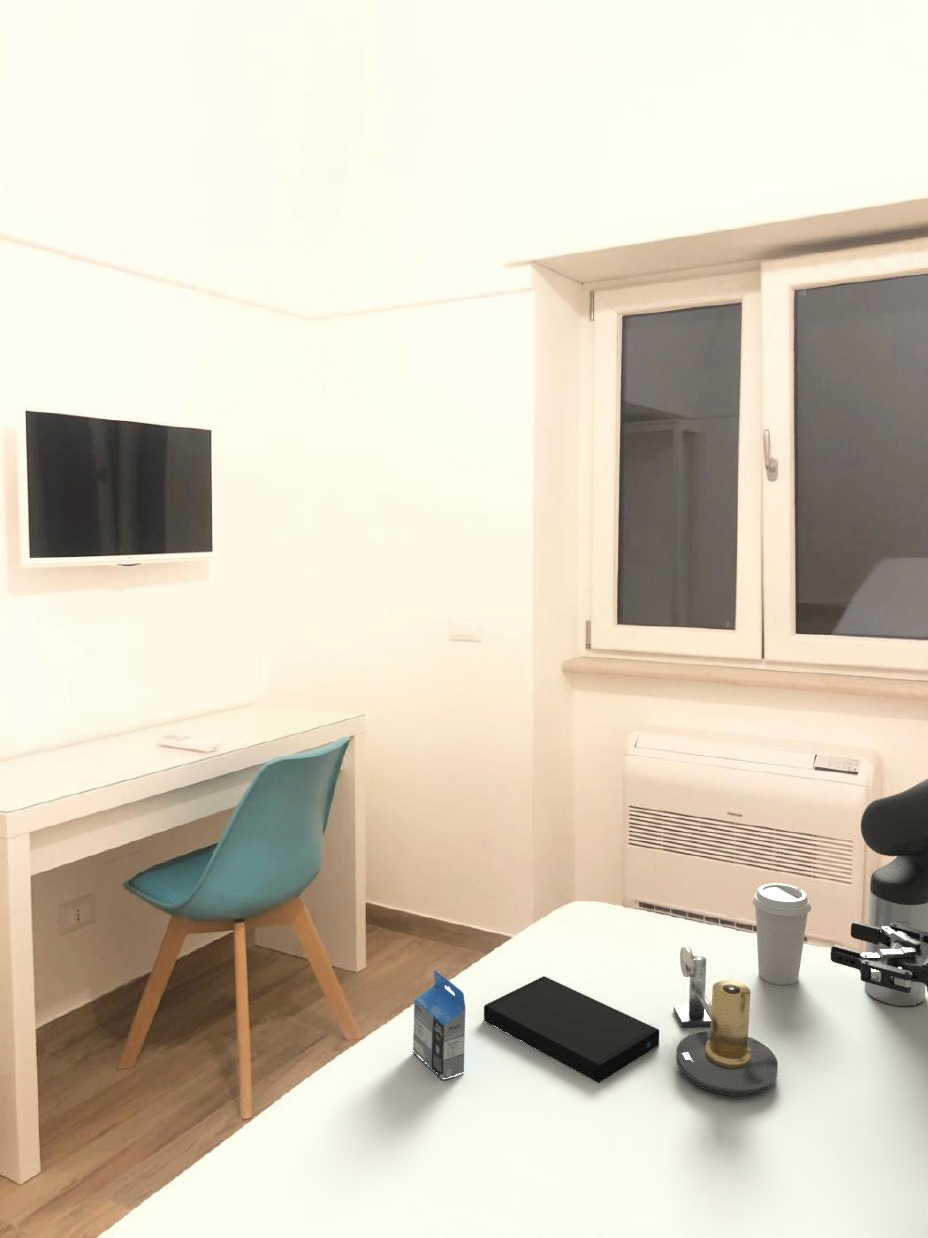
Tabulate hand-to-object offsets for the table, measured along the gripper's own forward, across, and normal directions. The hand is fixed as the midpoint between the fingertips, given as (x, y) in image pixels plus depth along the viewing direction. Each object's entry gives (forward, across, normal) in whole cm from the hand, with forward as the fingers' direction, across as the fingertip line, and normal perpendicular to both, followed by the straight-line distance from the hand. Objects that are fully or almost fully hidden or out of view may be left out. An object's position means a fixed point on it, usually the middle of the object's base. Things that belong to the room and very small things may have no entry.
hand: (841, 940), depth 139 cm
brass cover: (+14, +4, +20) cm, 25 cm away
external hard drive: (+37, +8, +24) cm, 45 cm away
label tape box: (+48, +26, +23) cm, 60 cm away
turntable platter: (+14, +4, +23) cm, 27 cm away
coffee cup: (+18, -29, +24) cm, 42 cm away
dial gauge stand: (+21, -5, +23) cm, 32 cm away
